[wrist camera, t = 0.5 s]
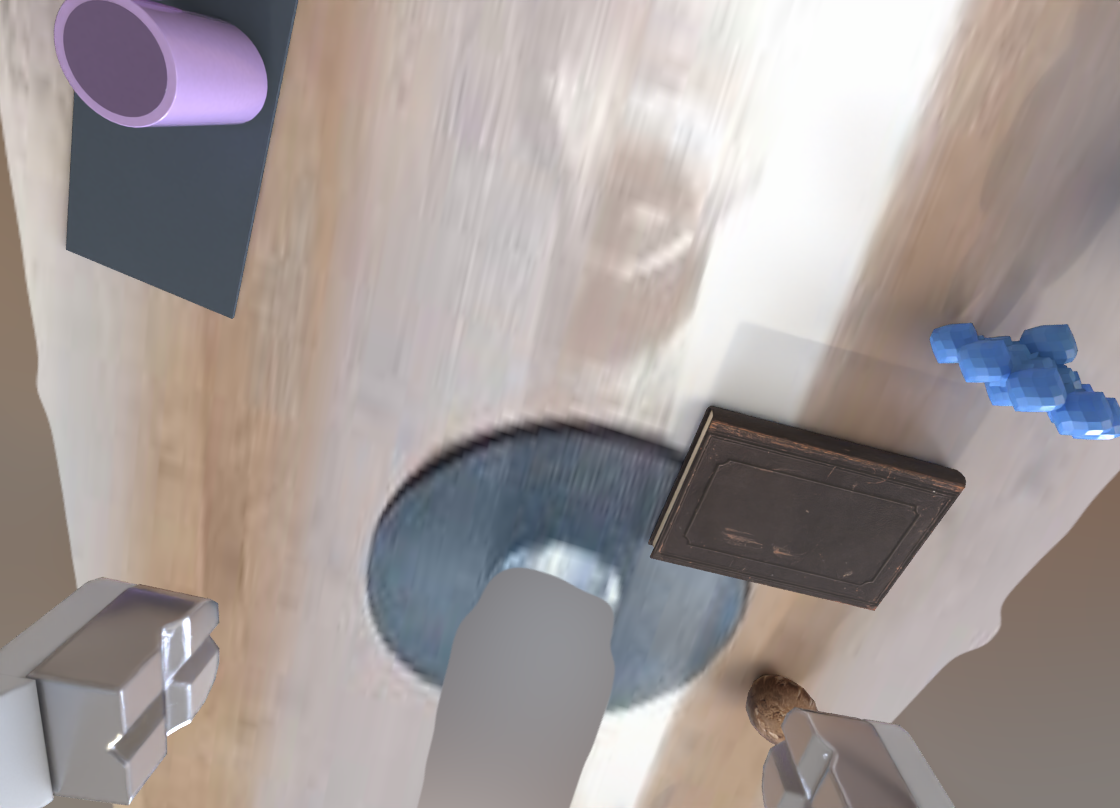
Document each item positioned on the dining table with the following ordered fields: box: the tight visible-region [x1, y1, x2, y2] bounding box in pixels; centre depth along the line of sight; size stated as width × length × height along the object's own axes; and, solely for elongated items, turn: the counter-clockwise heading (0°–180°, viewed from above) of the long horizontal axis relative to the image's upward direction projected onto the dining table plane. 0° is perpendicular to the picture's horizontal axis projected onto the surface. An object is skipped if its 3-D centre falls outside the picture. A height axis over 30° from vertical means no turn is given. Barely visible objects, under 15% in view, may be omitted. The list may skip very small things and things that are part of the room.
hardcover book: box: [648, 406, 966, 611], centre depth 52 cm, size 16×23×2 cm
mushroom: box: [746, 675, 818, 745], centre depth 62 cm, size 8×8×6 cm
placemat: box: [66, 0, 298, 319], centre depth 39 cm, size 31×13×1 cm, turn 155°
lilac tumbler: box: [54, 0, 267, 128], centre depth 34 cm, size 6×6×10 cm
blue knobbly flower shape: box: [930, 323, 1120, 440], centre depth 39 cm, size 12×7×12 cm, turn 65°
